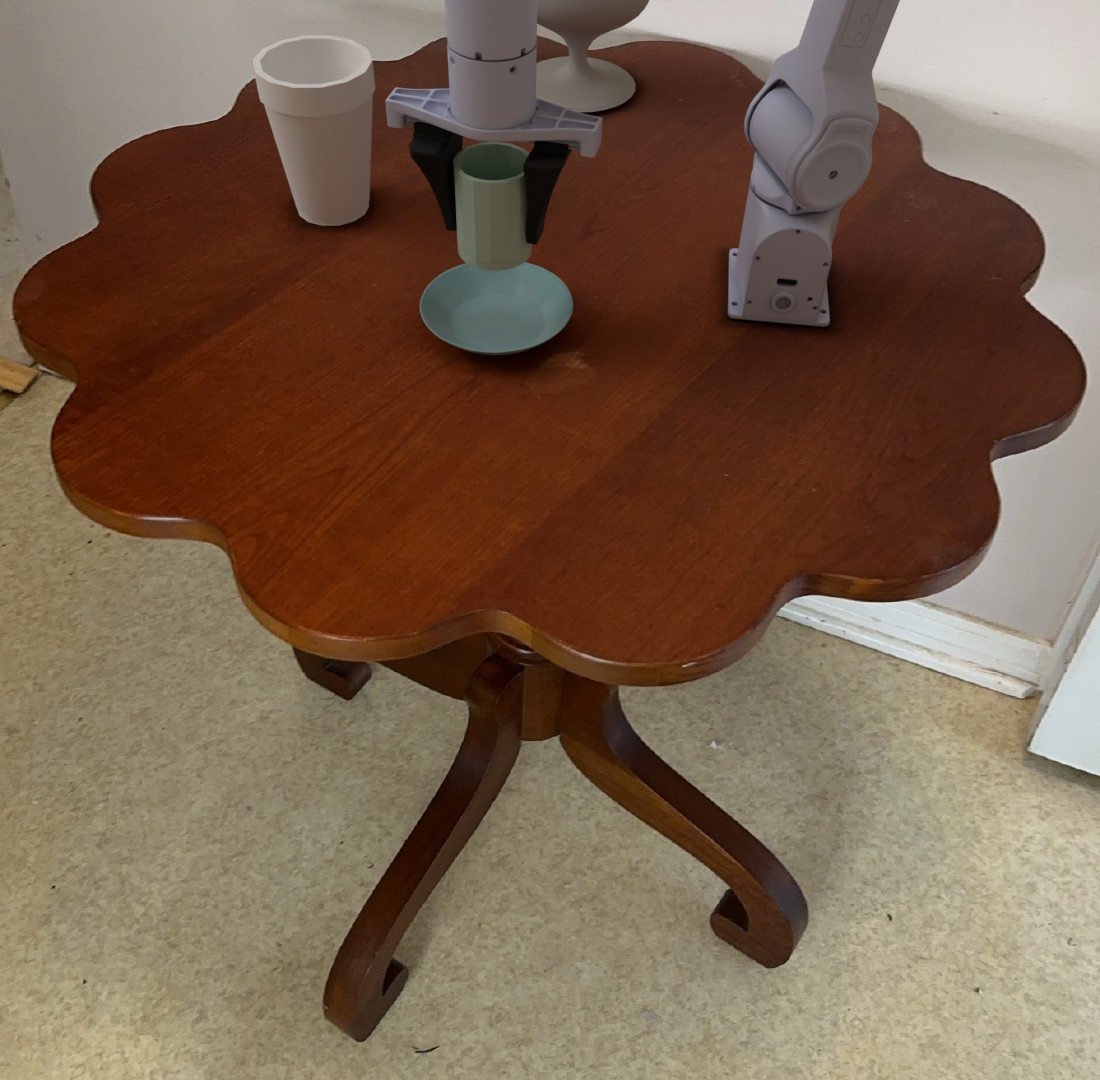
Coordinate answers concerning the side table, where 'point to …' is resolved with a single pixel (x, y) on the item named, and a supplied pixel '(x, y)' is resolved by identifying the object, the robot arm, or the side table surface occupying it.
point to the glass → (491, 205)
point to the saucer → (496, 308)
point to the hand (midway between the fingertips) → (495, 230)
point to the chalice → (584, 54)
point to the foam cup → (321, 122)
